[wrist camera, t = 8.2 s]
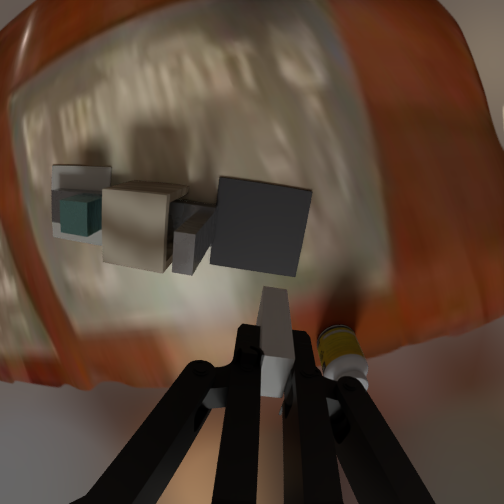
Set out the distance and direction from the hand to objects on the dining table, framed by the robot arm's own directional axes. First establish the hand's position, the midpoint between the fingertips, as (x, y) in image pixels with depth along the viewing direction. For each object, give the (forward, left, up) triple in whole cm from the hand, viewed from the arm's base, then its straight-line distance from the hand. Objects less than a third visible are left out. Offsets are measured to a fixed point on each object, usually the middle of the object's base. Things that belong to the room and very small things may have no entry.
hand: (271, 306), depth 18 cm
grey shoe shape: (+1, -1, -21) cm, 21 cm away
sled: (+1, -20, -20) cm, 28 cm away
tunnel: (+1, -15, -21) cm, 26 cm away
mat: (+1, -29, -21) cm, 36 cm away
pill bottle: (+17, +14, -21) cm, 30 cm away
